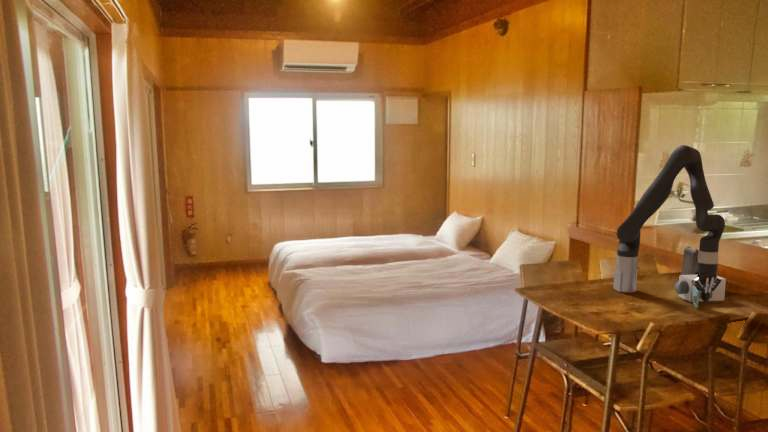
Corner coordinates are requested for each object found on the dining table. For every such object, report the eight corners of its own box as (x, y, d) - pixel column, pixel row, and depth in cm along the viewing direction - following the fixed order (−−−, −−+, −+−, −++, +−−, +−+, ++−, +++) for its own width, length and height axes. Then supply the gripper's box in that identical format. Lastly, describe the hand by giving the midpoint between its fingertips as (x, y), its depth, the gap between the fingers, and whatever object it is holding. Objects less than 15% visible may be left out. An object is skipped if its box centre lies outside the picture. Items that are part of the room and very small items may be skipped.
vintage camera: (722, 291, 266) (726, 250, 263) (689, 290, 266) (693, 249, 264) (710, 286, 276) (714, 246, 273) (679, 285, 276) (683, 245, 273)
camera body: (683, 302, 248) (685, 278, 247) (671, 296, 258) (672, 273, 256) (724, 300, 250) (726, 276, 248) (710, 294, 259) (712, 271, 257)
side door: (688, 300, 249) (689, 284, 248) (694, 300, 248) (695, 285, 247) (692, 307, 239) (694, 291, 238) (698, 308, 238) (699, 291, 237)
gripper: (714, 258, 241) (712, 297, 244) (687, 260, 239) (685, 299, 241) (728, 262, 234) (725, 302, 236) (700, 264, 231) (697, 304, 234)
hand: (705, 300), depth 239 cm, fingers closed
